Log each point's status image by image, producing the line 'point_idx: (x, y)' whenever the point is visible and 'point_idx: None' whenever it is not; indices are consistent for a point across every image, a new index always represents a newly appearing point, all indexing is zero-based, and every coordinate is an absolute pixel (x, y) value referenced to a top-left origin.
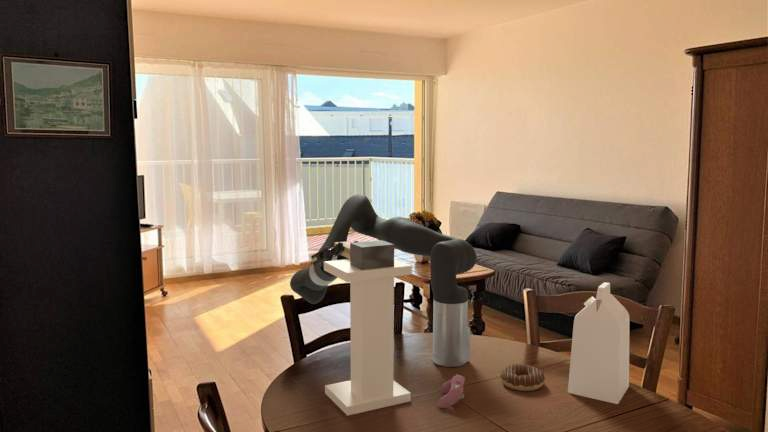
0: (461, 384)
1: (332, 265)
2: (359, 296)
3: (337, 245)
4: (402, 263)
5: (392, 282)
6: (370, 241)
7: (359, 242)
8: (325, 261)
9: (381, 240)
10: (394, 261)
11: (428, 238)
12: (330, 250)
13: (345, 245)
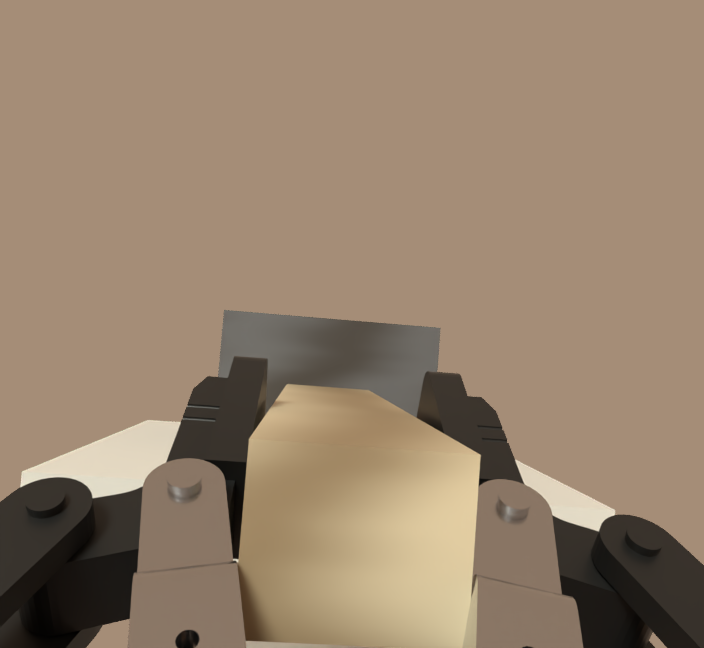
0: None
1: (543, 475)
2: None
3: (479, 410)
4: (148, 428)
5: None
6: (308, 317)
7: (382, 323)
8: (599, 508)
9: (231, 311)
10: (146, 438)
11: None
12: (555, 530)
13: (377, 414)
